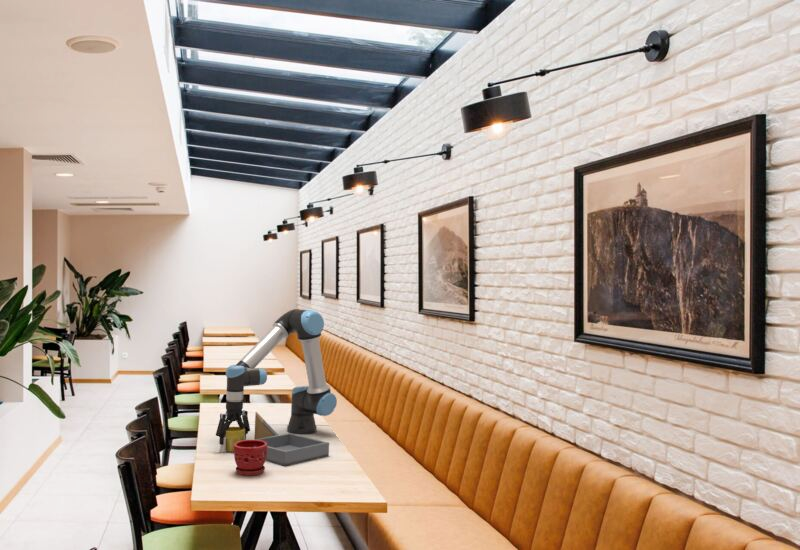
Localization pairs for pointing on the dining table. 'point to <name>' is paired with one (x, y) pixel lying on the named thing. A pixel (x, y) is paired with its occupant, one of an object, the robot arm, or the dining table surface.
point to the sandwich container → (262, 428)
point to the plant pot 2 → (250, 456)
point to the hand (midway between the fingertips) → (232, 449)
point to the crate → (294, 449)
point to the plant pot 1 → (233, 437)
